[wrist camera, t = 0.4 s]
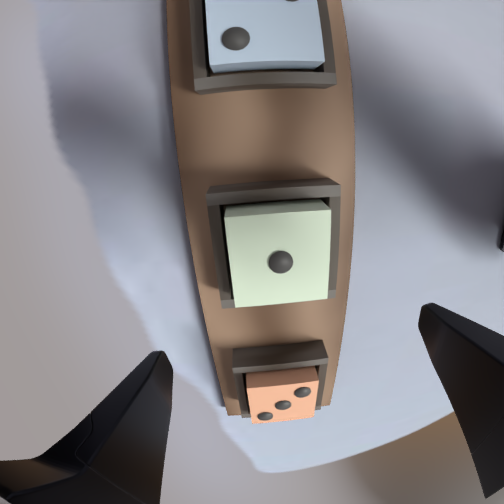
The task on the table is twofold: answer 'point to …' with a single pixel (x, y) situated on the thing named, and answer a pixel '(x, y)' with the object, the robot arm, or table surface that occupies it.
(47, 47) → the table surface
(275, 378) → the tile
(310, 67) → the tile
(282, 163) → the board
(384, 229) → the table surface
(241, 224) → the tile
